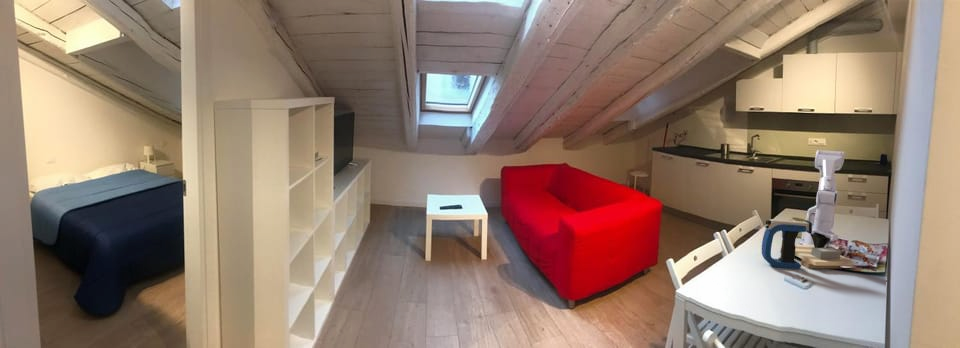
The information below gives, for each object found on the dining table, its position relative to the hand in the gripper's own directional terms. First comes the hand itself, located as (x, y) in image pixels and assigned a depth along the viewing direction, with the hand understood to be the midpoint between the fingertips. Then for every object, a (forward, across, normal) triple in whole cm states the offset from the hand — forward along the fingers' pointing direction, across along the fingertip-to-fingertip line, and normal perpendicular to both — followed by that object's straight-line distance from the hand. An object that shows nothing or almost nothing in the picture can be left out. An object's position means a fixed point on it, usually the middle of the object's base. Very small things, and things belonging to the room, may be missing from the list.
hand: (818, 251), depth 188 cm
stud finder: (+1, +4, 0) cm, 4 cm away
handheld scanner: (+5, +5, -18) cm, 19 cm away
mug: (+5, -33, +18) cm, 38 cm away
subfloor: (+4, -1, 0) cm, 4 cm away
